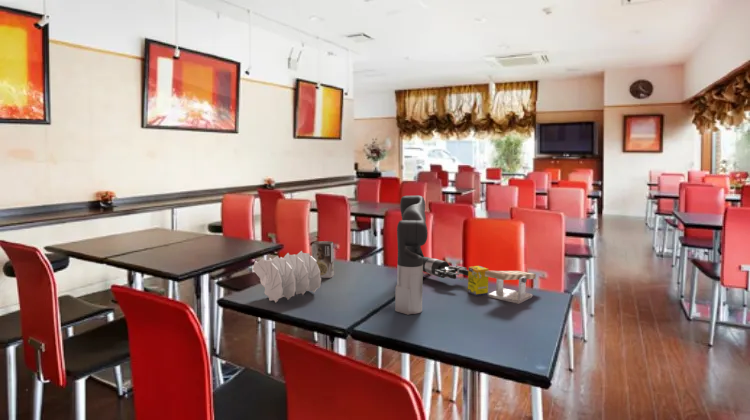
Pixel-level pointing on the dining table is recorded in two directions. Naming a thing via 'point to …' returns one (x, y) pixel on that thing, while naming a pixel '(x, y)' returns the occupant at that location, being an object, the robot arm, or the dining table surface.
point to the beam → (509, 275)
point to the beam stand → (511, 292)
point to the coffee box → (324, 257)
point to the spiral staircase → (288, 275)
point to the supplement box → (477, 281)
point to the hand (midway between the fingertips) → (462, 275)
